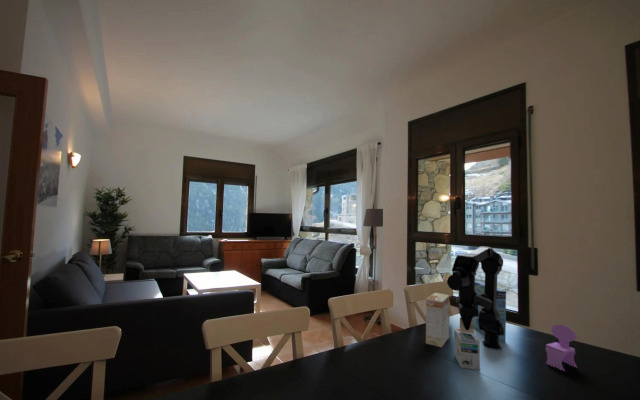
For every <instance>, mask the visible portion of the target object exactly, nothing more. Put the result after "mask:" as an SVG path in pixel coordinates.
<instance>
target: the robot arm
mask: <svg viewBox="0 0 640 400" xmlns="http://www.w3.org/2000/svg"><path fill="white" fill-rule="evenodd" d="M479 266H480V268H481V270H482V272H483V274H484V284H485V293H484V294H483V293H482V294H480V295H479V294H477V293H476V292H475V282H476V275H477V271H478V269H479ZM503 266H504V259H503V257H502V255H501V254H499V252H496V250H494V248H493V247H490V246H483V245H482V246H479V247H478V248H476V249H475V250H473V251H471V252H469V253H458V255H457V256H456V257H455V260H454V262H453V265H452V268H451V273H452V274H451V275H449V276H448V278H447V280H446V283H447V286H448V288H450V290H452V291H458V295H457V296H456V298H455V299H456V300H455V301H456V304H457V305H456V306H457V310H458V313H459V317H460V318H461V319H462V321H463V324H464V327H465V329H466V330H469V328H470V324H471V321H472V318H473V317H479V318H478V324H479V330H483V331H484V333H483V340H482V341H481V342H482V345H483V348H488V349H495V350H500V351H501V350H502V347H501V346H500V342H499V335H504V326H503V324H502V322H501V318H500V315H499V313H498V311H497V309H496V302H497V288H498V275H499V274H500V273H501V272H502V270H503ZM472 305H473V306H472ZM477 305H479V306H481V307H484V308H483V309H482V311H480V312H479V311H478V309H477V308H476V307H475V306H477ZM479 330H478V331H479Z"/></svg>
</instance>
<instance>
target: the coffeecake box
mask: <svg viewBox="0 0 640 400" xmlns="http://www.w3.org/2000/svg"><path fill="white" fill-rule="evenodd" d="M425 304H426V306H425V310H426V311H425V314H426V315H425V317H426V318H425V344H426V345H430V346H434V347H438V348H443V346H444V345H445V343H447V340H449V338H450V294H444V293H440V292H434V293H432V294H431V295H429V297H427V298H426V299H425Z"/></svg>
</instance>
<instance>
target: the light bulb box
mask: <svg viewBox="0 0 640 400" xmlns="http://www.w3.org/2000/svg"><path fill="white" fill-rule="evenodd" d="M453 333H454V334H453V335H454V338H453V339H454V343H453V344H454V345H453V346H454V357H455V359H456V361H457V363H458V364H459V367H460V368H463V369H470V370H476V371H477V370H478V371H480V369H481V368H480V367H481V361H480V360H481V356H480V351H481V349H480V348H481V347H480V346H481V344H480V343H481V341H480V339H479V338H478V337H477V336H476V335H475V333H474V334H472V333H466V332H461V331H460V328H454V332H453Z"/></svg>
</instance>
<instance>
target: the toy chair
mask: <svg viewBox="0 0 640 400" xmlns="http://www.w3.org/2000/svg"><path fill="white" fill-rule="evenodd" d="M551 332H552V334H553V336H554V337H555V338H556V339H558V342H555V341H554V342H552V343H547V344H545V353H546V356H547V358H546V359H547V360H546V362H545V365H547V364H548V365H547V366H549V365H550V367H552V366H553V367H552V368H554V367H556V368H558V369H557V370H559V369H560V370H559V371H561V370H563V371H565V372H566V370H565V368H564V366H563V364H562V362H565V363H567V364H569V365H568V366H570V365H571V366H570V367H572V366H574V367H573V368H575V367H576V368H575V369H578V366H577V364H576V362H575V358H574V357H575V355H576V349H575V348H574V347H571V346H570V343H572V342H573V341H575V340H576V339H577V334H576V333H575V331H574V330H573V329H572V328H570V326H566V325H564V324H554V325H552V326H551ZM565 363H564V364H565ZM567 364H566V365H567ZM556 368H555V369H556ZM563 371H562V372H563Z"/></svg>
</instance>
